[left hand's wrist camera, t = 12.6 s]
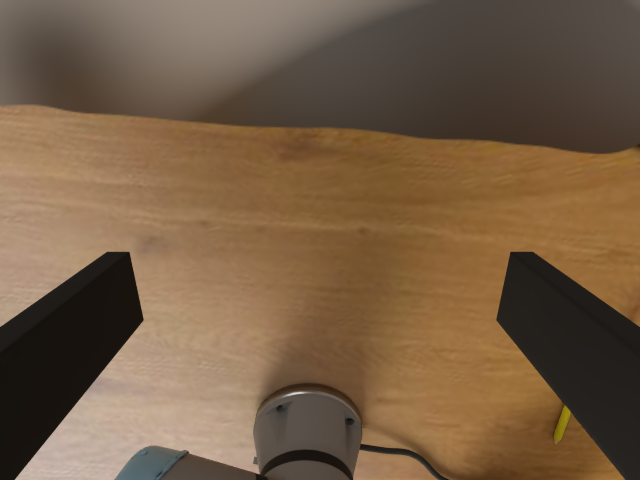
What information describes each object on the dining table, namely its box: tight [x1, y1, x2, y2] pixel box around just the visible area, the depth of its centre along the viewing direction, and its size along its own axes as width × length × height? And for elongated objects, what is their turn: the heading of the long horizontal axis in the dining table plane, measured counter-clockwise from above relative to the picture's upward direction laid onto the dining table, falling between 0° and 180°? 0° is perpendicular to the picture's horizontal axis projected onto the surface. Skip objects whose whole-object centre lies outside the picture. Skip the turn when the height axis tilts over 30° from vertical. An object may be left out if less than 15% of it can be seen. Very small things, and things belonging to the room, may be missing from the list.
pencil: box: [553, 405, 571, 444], centre depth 49 cm, size 16×1×1 cm, turn 178°
